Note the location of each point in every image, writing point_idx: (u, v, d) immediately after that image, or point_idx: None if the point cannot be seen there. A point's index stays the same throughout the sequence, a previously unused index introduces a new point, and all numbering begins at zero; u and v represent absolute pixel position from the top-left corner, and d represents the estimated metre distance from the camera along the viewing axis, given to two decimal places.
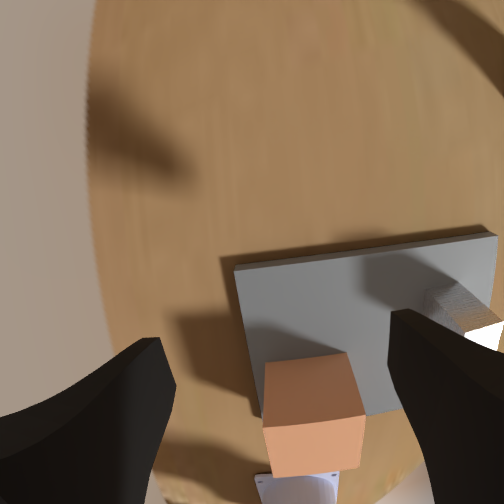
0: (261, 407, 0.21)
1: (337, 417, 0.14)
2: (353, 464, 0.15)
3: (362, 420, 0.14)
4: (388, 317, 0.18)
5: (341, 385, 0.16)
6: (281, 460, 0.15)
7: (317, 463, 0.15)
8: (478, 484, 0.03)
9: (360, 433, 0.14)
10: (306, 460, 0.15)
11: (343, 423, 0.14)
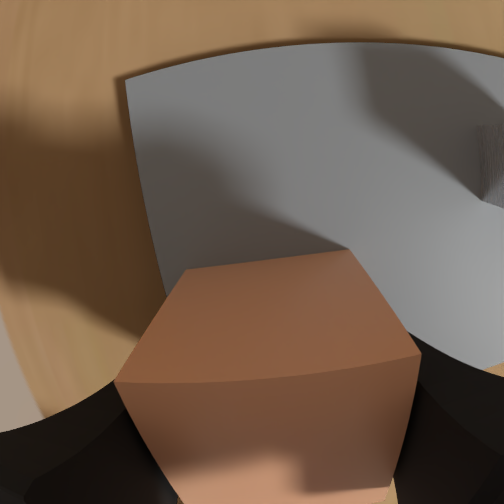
0: None
1: (335, 364, 0.05)
2: (373, 496, 0.06)
3: (410, 375, 0.05)
4: (423, 174, 0.09)
5: (342, 294, 0.07)
6: (193, 483, 0.06)
7: (285, 496, 0.06)
8: (434, 501, 0.03)
9: (400, 419, 0.05)
10: (256, 488, 0.06)
11: (351, 386, 0.05)
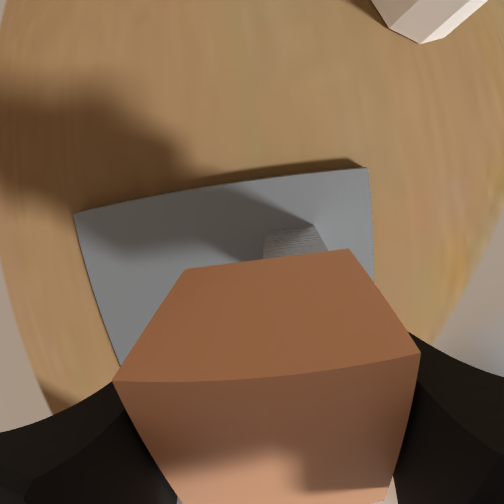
0: (120, 361, 0.20)
1: (334, 363, 0.05)
2: (372, 497, 0.06)
3: (409, 374, 0.05)
4: None
5: (341, 293, 0.07)
6: (192, 482, 0.06)
7: (284, 496, 0.06)
8: (433, 501, 0.04)
9: (399, 418, 0.05)
10: (255, 487, 0.06)
11: (351, 385, 0.05)
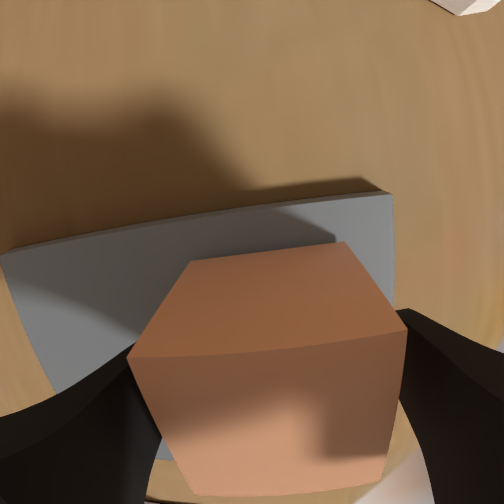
0: None
1: (328, 338, 0.05)
2: (369, 476, 0.07)
3: (397, 350, 0.05)
4: None
5: (336, 280, 0.08)
6: (197, 460, 0.07)
7: (285, 473, 0.07)
8: (478, 484, 0.03)
9: (391, 393, 0.06)
10: (258, 464, 0.06)
11: (344, 359, 0.05)
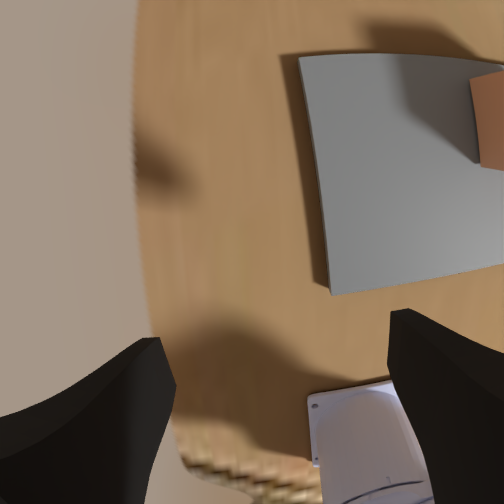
0: (330, 254, 0.17)
1: None
2: None
3: None
4: (460, 128, 0.14)
5: None
6: None
7: None
8: (478, 484, 0.03)
9: None
10: None
11: None
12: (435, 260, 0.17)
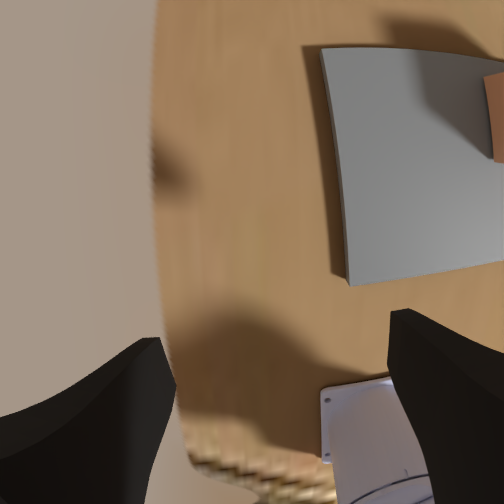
0: (349, 244, 0.17)
1: None
2: None
3: None
4: (474, 123, 0.14)
5: None
6: None
7: None
8: (478, 484, 0.03)
9: None
10: None
11: None
12: (450, 253, 0.17)
